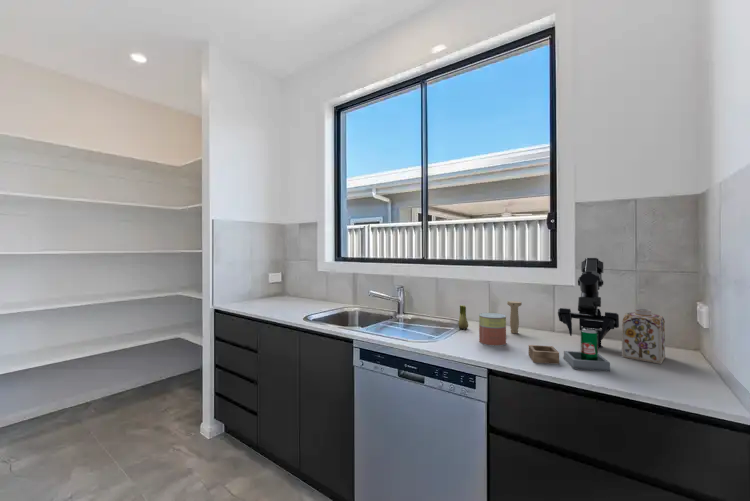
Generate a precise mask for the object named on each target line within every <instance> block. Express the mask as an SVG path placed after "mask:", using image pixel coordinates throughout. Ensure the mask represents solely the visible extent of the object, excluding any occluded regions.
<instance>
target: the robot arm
mask: <svg viewBox="0 0 750 501" xmlns="http://www.w3.org/2000/svg"><path fill="white" fill-rule="evenodd" d="M580 268H581V273H580V276H579V277H578V279H577V285H578V287H580V288H579V289H580V296H579V297H578V302H577V312H573V311H571V308H565V307H560V308H558V309H557V316H558V320H559V322H561V323H562V324H564V325H566V327H567V329H568V332H569V336H570V337H572V335H573V322H572V320H573V319H578V320H579V331H580V332H581V330H582V328H594V329H596V331H597V332H598V348H604V346H603V345H602V340H603V339H604V338H605V336H606V335H607V334H608V332H610V331H611V330H615V329H618V328H620V317H619V315H620V314H618V313H617V312H609V311H604V315H602V312H601V309H600V308H601V307H602V297H600V296H599V295H600V294H599V293H600V292H599V290H600V288H602V287H603V285H604V280H603V279H602V277H603V276H602V274H604V262H603V261H601V260H600V259H599V258H598V257H586V258H584V260H583V261H581V267H580Z"/></svg>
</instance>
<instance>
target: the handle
mask: <svg viewBox="0 0 750 501" xmlns="http://www.w3.org/2000/svg"><path fill="white" fill-rule="evenodd" d="M506 304H507V305H508V306H510V314H509V324H510V325H509V327H510V333H511V334H518V333H519V329H520V328H519V327H520V321H519V320H520V317H519V307H521V306H522V302H521V301H515V300H514V301H512V300H510V301H507V302H506Z"/></svg>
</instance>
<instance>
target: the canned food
mask: <svg viewBox="0 0 750 501" xmlns="http://www.w3.org/2000/svg"><path fill="white" fill-rule="evenodd" d="M478 332H479V333H478V337H479V338H478V343H480V344H481V345H483V346H488V347H503V346H506V345H507V315H506V314H503V313H497V312H483V313H479V314H478Z"/></svg>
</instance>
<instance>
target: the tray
mask: <svg viewBox="0 0 750 501" xmlns="http://www.w3.org/2000/svg"><path fill="white" fill-rule="evenodd" d="M563 359H564V361H565V362H566V363H567V364H568V365H569V367H571V368H572V369H573V370H582V371H583V370H585V371H597V372H598V371H599V372H611V362H610V361H608V359H606V358H605V357H603V356H602V355H601V354H600V353H598V361H593V360H581V351H576V350H572V351H571V350H563Z"/></svg>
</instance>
